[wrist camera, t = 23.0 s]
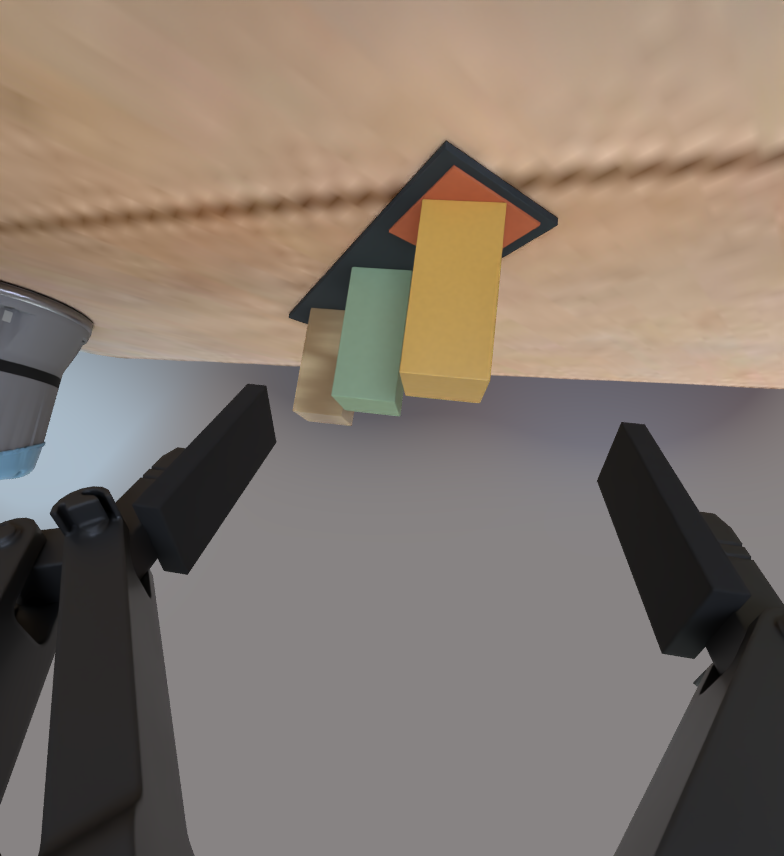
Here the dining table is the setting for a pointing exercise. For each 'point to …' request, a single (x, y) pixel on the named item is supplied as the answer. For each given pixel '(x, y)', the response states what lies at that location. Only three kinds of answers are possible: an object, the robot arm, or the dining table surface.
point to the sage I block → (372, 341)
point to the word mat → (399, 222)
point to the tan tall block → (321, 370)
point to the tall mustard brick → (453, 300)
